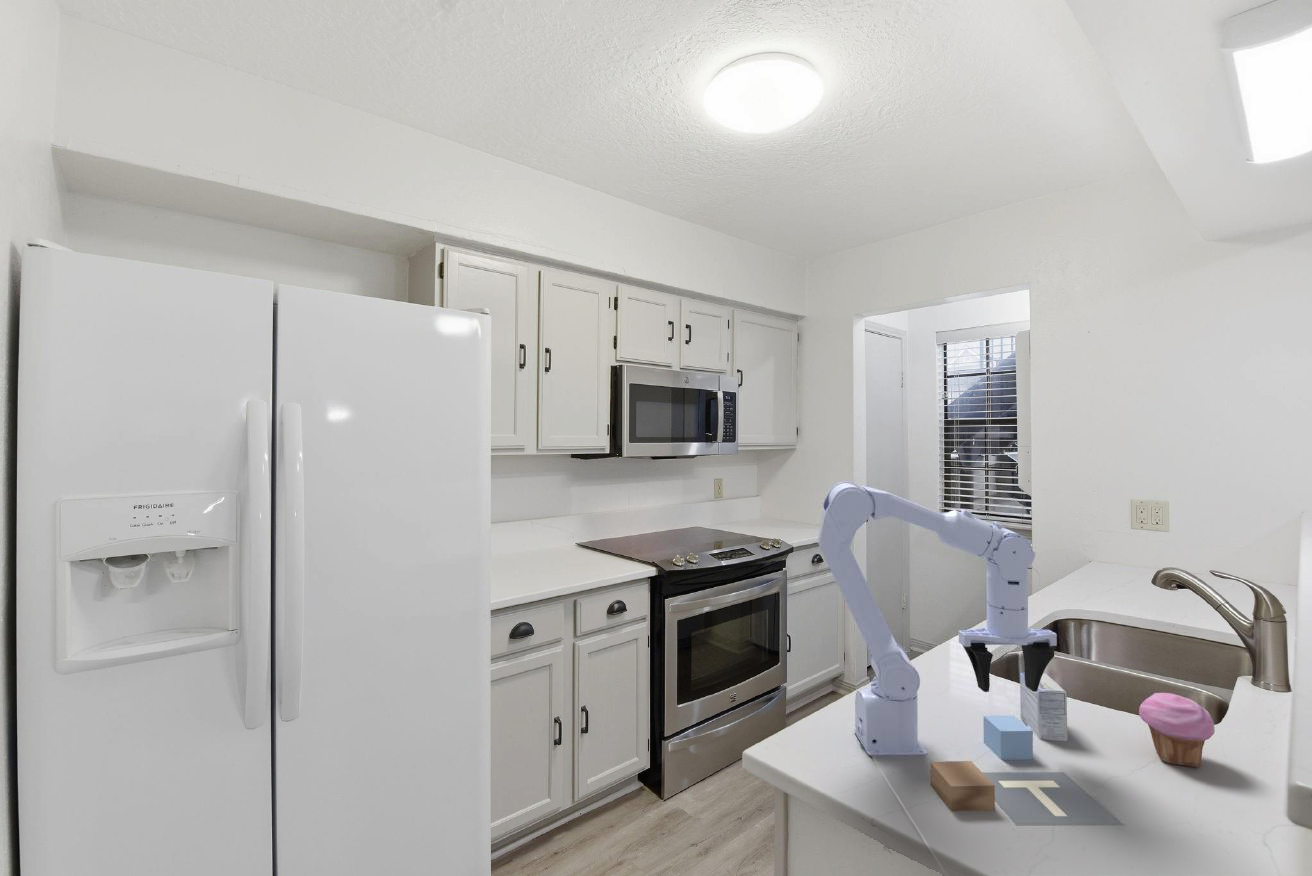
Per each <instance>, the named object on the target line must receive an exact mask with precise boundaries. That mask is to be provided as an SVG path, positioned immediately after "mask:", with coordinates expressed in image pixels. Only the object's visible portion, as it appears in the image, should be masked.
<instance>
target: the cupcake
mask: <svg viewBox="0 0 1312 876" xmlns="http://www.w3.org/2000/svg"><path fill="white" fill-rule="evenodd" d="M1138 709H1139V710H1138V715H1139V717H1140V719H1141V720H1142V721H1143V722H1145V724H1147V726H1148V728H1149V731H1150V735H1151V739H1152V743H1153V746H1154V749H1155V751H1156V754H1157V756H1158V757H1159V759H1160V760H1162V762H1165V763H1167V764H1175V765H1181V766H1186V767H1190V768H1191V767H1192V768H1199V767H1201V764H1202V757H1203V747H1204V745H1205V742H1206V741H1207V740H1209V739H1210V738H1212V736H1213V735H1214V734H1215V723H1214V719H1213V717H1212V715H1211V714H1210V712H1209V710H1207V709H1205V708H1204V707H1202V705H1200V704H1198V702H1197V701H1194V700H1192V699H1190V698H1188V697H1185V696H1182V695H1178V694H1175V693H1170V692H1155V693H1153V694H1152V695H1150V696H1149V697H1147V698H1145V700H1144V701H1143V702H1142V703H1141V704H1140V706H1139V708H1138Z"/></svg>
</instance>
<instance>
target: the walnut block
mask: <svg viewBox="0 0 1312 876" xmlns="http://www.w3.org/2000/svg"><path fill="white" fill-rule="evenodd" d="M929 765H930V767H929V771H930V772H929V773H930V775H929V777H930V779H929V780H930V783H929V784H930V786H931V787H932V788H933V790H934V791H935V793H936V794H937V795H938V796H939V797H940V799H941V800H942V801H943V803H944V804H945V806H947V808H948V809H949V810H950V811H951V812H959V811H961V812H962V811H963V812H965V811H966V812H969V811H971V812H972V811H995V810H996V802H995V785H994V784H993V783H992V782H991V781H990V780H989V779H988V778H987V777H986V776H985V775H984V774H983V773H982V771H981V769H979V767H978V766H976V765H975V763H974V762H973V761H971V760H956V761H954V760H953V761H951V760H950V761H949V760H948V761H930V764H929Z"/></svg>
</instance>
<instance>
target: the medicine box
mask: <svg viewBox="0 0 1312 876" xmlns="http://www.w3.org/2000/svg"><path fill="white" fill-rule="evenodd" d="M1019 687H1020V690H1019V691H1020V692H1019V693H1020V719H1021V720H1022V722H1023V723H1025V725H1026V726H1027V727H1029V728H1030V729H1031V730H1032V731H1033V734H1034V735H1035V736H1036V737H1037V738H1038V739H1039V740H1045V741H1057V742H1058V741H1059V742H1068V740H1069V739H1068V738H1069V737H1068V704H1067V702H1068V696H1067V691H1066V690H1064V689H1063V688H1062V687H1061V685H1059V684H1058V683H1057V682H1056V681H1054V680H1053V678H1051V677H1050V676H1049V675H1048V673H1044V672H1043V675H1042V677H1041V680H1040V683H1039V687H1038V690H1037V692H1033V691H1032V690H1030V689H1029V688H1027V687H1026V685H1025V671H1024V672H1020V675H1019Z"/></svg>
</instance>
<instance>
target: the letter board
mask: <svg viewBox="0 0 1312 876" xmlns="http://www.w3.org/2000/svg"><path fill="white" fill-rule="evenodd" d="M981 772H982V771H981ZM982 773H983V774H984V775H985V776H986V777H987V778H988V779H989V780H990V781H991V782H992V783H993V784H994V785H995V804H997V805H998V806H999V807H1000V809H1002V811H1003V812H1004V813H1005V815H1007V817H1008V818H1009V819H1010V821H1012V822H1013V824H1014V825H1015V826H1018V827H1019V826H1020V827H1021V826H1022V827H1023V826H1026V827H1028V826H1125V824H1124V823H1123V822H1122V821H1121V820H1119V819H1118V818H1117V817H1116V816H1115V815H1114V814H1113V813H1111V811H1110V810H1108V809H1107V808H1106V807H1105V806H1103V805H1102V804H1101V803H1100V802H1099V801H1098V800H1097V799H1096V798H1094V797H1093V796H1092V795H1091V794H1090V793H1088V792H1087V790H1085V789H1084V788H1083V787H1082V786H1081V785H1079V784H1078V783H1077V782H1076V781H1075V780H1073V779H1072V778H1071V777H1070V776H1069V775H1068V774H1067V773H1065V772H1064V771H1027V772H1025V771H1020V772H1016V771H1013V772H1012V771H1011V772H1007V771H1005V772H1004V771H1003V772H993V771H992V772H990V771H989V772H984V771H983V772H982Z"/></svg>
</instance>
